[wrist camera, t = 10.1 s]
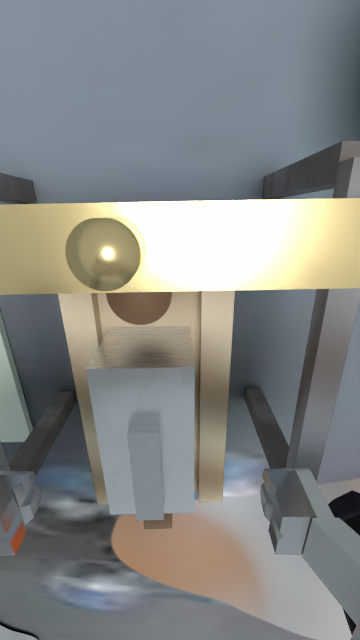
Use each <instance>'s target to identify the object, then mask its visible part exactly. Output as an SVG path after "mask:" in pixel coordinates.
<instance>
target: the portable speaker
mask: <svg viewBox="0 0 360 640" xmlns="http://www.w3.org/2000/svg"><path fill="white" fill-rule="evenodd" d="M328 506H329V508H330V510H331V512H332V514H333V516H334V518H340V519H341V520H342V521H343V522H345V523H346V524H347V525H348V526H349V527H350V528H351V529H353V530H354V531H355V532H356V533H357V534H358V535H359V536H360V493H358V492H355V491H350V492H348V493H346V494H344V495H342V496H340V497H338V498H336V499H334V500H333V501H332V502H330V503H329V504H328ZM343 610H344V609H343ZM344 613H345V616H346V619H347V622H348V625H349V628H350V631H351V634H352V635H353V633H354V631H355V628H356V626H357V625H356V624H355V623H354V621H353V620H352V619H351V618H350V616H349V615H348V614H347V612H346V611H345V610H344Z"/></svg>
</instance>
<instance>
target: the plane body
mask: <svg viewBox="0 0 360 640" xmlns="http://www.w3.org/2000/svg"><path fill="white" fill-rule="evenodd" d="M332 188H334V193H333V199H336V198H360V141H342V142H339V143H337V144H335V145H333V146H331V147H328V148H326V149H324V150H322V151H320V152H318V153H315V154H313V155H311V156H309V157H307V158H304V159H302V160H300V161H298V162H296V163H294V164H291V165H289V166H287V167H285V168H283V169H280V170H278V171H276V172H274V173H272V174H270V175H267V176H265V177H264V188H263V198H283V197H288V196H294V195H299V194H305V193H310V192H316V191H321V190H327V189H332ZM0 201H6V202H36V197H35V192H34V187H33V182H32V181H30V180H26V179H22V178H18V177H14V176H10V175H6V174H2V173H0ZM58 297H59V303H60V308H61V313H62V318H63V324H64V329H65V334H66V340H67V345H68V350H69V355H70V361H71V366H72V371H73V376H74V382H75V387H76V392H77V398H78V403H79V408H80V413H81V419H82V424H83V429H84V434H85V440H86V445H87V450H88V456H89V461H90V466H91V471H92V477H93V482H94V487H95V492H96V498H97V503H98V505H102V504H108V499H107V493H106V487H105V481H104V475H103V469H102V463H101V457H100V451H99V445H98V440H97V434H96V428H95V422H94V416H93V410H92V404H91V398H90V392H89V386H88V380H87V374H86V368H87V366H88V365H89V363H90V361H91V360H92V358H93V356H94V355H95V353H96V351H97V350H98V348H99V346H100V345H101V343H102V341H103V340H104V338H105V336H106V335H107V333H108V331H109V330H110V328H111V327H138V326H190V330H191V339H192V348H193V357H194V366H195V406H194V491H198V497H199V503H203V502H204V503H208V502H222V498H223V481H224V464H225V447H226V431H227V414H228V397H229V380H230V364H231V347H232V330H233V313H234V297H235V290H233V291H178V292H123V293H68V294H58ZM359 300H360V288H342V289H317V291H316V297H315V302H314V308H313V314H312V320H311V325H310V331H309V337H308V343H307V348H306V354H305V360H304V365H303V371H302V377H301V383H300V388H299V394H298V400H297V406H296V411H295V417H294V423H293V429H292V434H291V440H290V446H288V444H287V442H286V440H285V437H284V435H283V433H282V431H281V429H280V427H279V425H278V423H277V421H276V419H275V417H274V415H273V413H272V410H271V408H270V406H269V404H268V402H267V400H266V398H265V396H264V394H263V392H262V390H261V388H246V394H245V401H246V404H247V406H248V409H249V412H250V415H251V417H252V420H253V423H254V426H255V428H256V431H257V434H258V437H259V439H260V442H261V445H262V447H263V450H264V453H265V456H266V458H267V461H268V464H269V467H270V469H276V468H292V469H295V468H308V469H309V470H310V471H311V472H312V474H313V476H314V478H315V480H316V481H317V477H318V473H319V469H320V464H321V460H322V456H323V452H324V448H325V443H326V439H327V435H328V431H329V427H330V422H331V418H332V414H333V410H334V406H335V401H336V397H337V393H338V389H339V385H340V380H341V376H342V372H343V368H344V364H345V359H346V355H347V351H348V347H349V343H350V338H351V334H352V330H353V326H354V322H355V317H356V313H357V309H358V305H359ZM74 405H75V398H74V393H73V391H59V392H58V393H57V395H56V396H55V398H54V399H53V401H52V402H51V403H50V405H49V406H48V408H47V409H46V411H45V412H44V414H43V415H42V417H41V418H40V420H39V421H38V423H37V424H36V425H35V427H34V428H33V430H32V431H31V433H30V434H29V436H28V437H27V439H26V440H25V442H24V443H23V445H22V446H21V447H20V449H19V450H18V452H17V453H16V455H15V456H14V458H13V459H12V461H11V462H10V464H9V465H8V462H7V459H6V456H5V453H4V450H3V447H2V444H1V441H0V471H34V473H35V476H36V474H37V472H38V470H39V468H40V467H41V465H42V463H43V461H44V459H45V457H46V456H47V454H48V452H49V450H50V448H51V446H52V445H53V443H54V441H55V439H56V437H57V436H58V434H59V432H60V430H61V428H62V426H63V425H64V423H65V421H66V419H67V417H68V416H69V414H70V412H71V410H72V408H73V406H74ZM144 528H145V529H161V528H162V529H163V528H172V513H164V520H144Z"/></svg>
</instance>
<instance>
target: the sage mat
mask: <svg viewBox="0 0 360 640" xmlns="http://www.w3.org/2000/svg"><path fill="white" fill-rule="evenodd" d="M32 430H33V427H32V424H31V420H30V416H29V413H28V409H27V406H26V402H25V398H24V395H23V391H22V388H21V384H20V380H19V377H18V373H17V370H16V366H15V362H14V359H13V355H12V351H11V348H10V344H9V341H8V337H7V333H6V330H5V326H4V323H3V319H2V315H1V312H0V441H1V442H25V440H26V439H27V437H28V436H29V434H30V433H31V431H32Z"/></svg>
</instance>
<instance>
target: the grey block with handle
mask: <svg viewBox="0 0 360 640" xmlns="http://www.w3.org/2000/svg"><path fill="white" fill-rule="evenodd" d="M86 374H87V380H88V386H89V392H90V398H91V404H92V410H93V416H94V422H95V428H96V434H97V440H98V445H99V451H100V457H101V463H102V469H103V475H104V481H105V487H106V493H107V499H108V505H109V511H110V514H136V516H137V520H164V513H194V406H195V366H194V357H193V348H192V339H191V330H190V326H138V327H111V328H110V330H109V331H108V333H107V335H106V336H105V338H104V340H103V341H102V343H101V345H100V346H99V348H98V350H97V351H96V353H95V355H94V356H93V358H92V360H91V361H90V363H89V365H88V366H87V368H86Z"/></svg>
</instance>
